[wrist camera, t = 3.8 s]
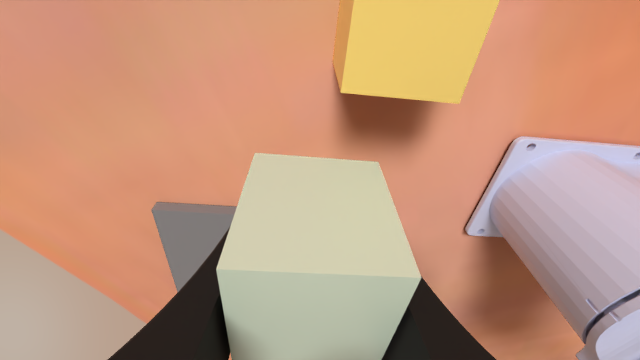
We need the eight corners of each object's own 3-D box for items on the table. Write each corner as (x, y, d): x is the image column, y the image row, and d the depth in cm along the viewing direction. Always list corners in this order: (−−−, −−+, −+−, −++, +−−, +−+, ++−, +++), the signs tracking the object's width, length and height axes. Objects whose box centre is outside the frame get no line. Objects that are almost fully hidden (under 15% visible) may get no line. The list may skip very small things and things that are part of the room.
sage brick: (378, 161, 10) (421, 277, 6) (351, 266, 14) (368, 385, 10) (254, 152, 10) (216, 269, 6) (259, 262, 13) (236, 384, 9)
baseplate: (304, 210, 20) (304, 218, 19) (297, 293, 26) (296, 302, 25) (156, 201, 19) (151, 209, 18) (183, 289, 25) (179, 298, 24)
